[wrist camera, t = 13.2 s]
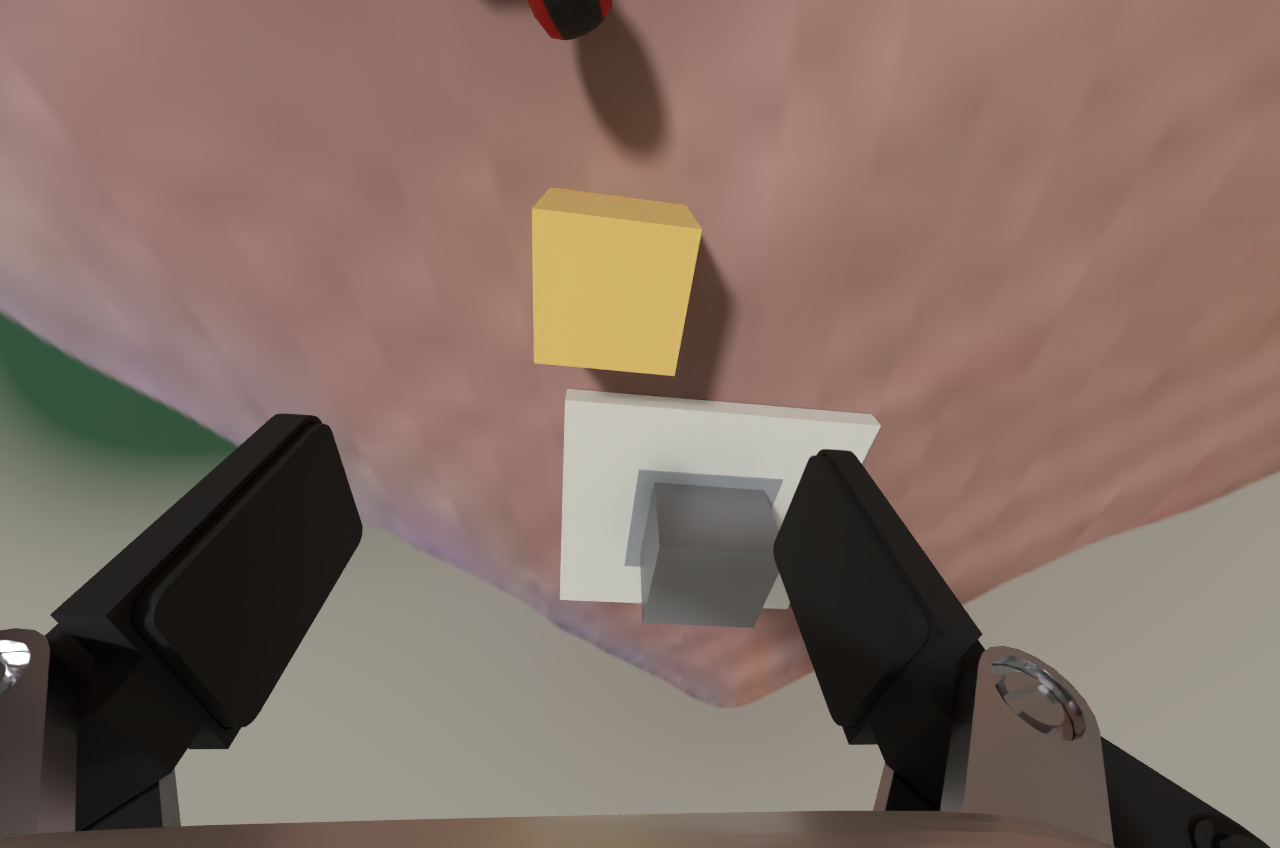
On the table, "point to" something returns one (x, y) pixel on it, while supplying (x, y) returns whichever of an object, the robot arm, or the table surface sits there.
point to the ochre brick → (611, 281)
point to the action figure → (569, 16)
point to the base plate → (675, 472)
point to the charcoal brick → (707, 556)
